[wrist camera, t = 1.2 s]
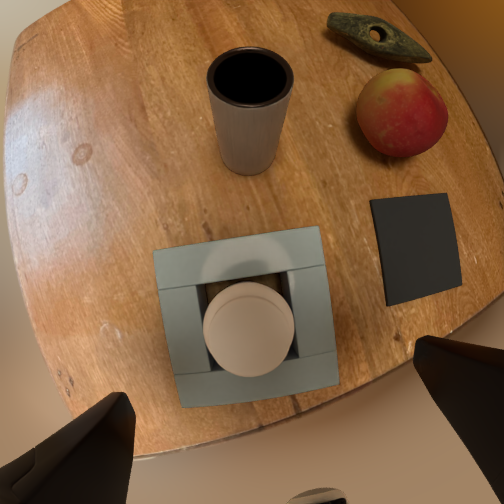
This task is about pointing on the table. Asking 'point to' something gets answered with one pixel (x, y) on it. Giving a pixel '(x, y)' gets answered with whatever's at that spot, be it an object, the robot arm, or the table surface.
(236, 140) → the grey cylindrical tube
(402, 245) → the mat
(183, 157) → the table surface
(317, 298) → the stand
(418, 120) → the apple
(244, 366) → the pill bottle
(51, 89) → the table surface
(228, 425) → the table surface
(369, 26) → the decorative stone
